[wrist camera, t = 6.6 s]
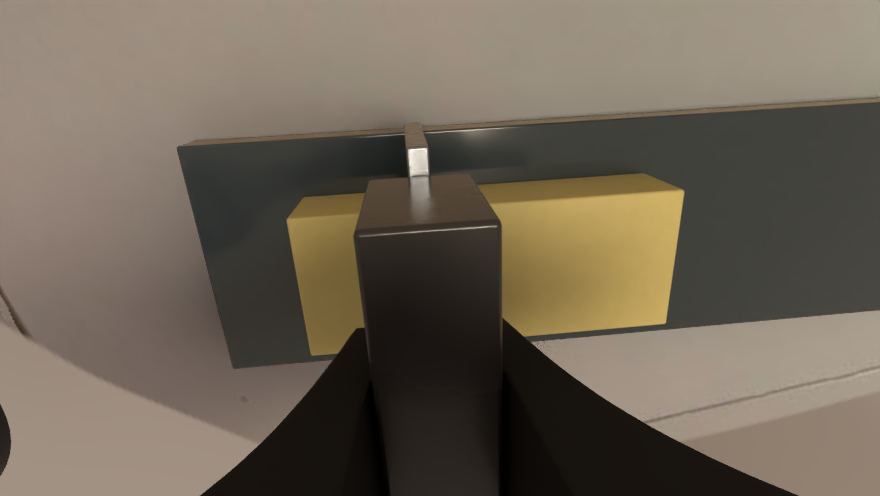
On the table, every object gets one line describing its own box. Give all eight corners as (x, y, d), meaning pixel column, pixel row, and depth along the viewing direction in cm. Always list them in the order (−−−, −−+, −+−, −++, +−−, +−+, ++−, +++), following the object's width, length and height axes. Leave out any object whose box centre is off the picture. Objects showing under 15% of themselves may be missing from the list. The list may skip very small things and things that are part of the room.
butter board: (242, 351, 18) (232, 369, 17) (191, 140, 15) (175, 146, 14) (1301, 257, 20) (1353, 267, 19) (1433, 62, 18) (1503, 62, 16)
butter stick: (441, 307, 16) (447, 344, 14) (434, 187, 15) (440, 207, 13) (631, 291, 17) (666, 324, 15) (644, 172, 15) (686, 189, 13)
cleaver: (404, 413, 15) (407, 668, 8) (376, 124, 12) (346, 189, 5) (460, 407, 15) (504, 656, 9) (447, 120, 12) (503, 178, 5)
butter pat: (322, 317, 16) (310, 357, 14) (302, 196, 15) (285, 219, 12) (407, 310, 16) (408, 348, 14) (397, 189, 15) (396, 210, 13)
